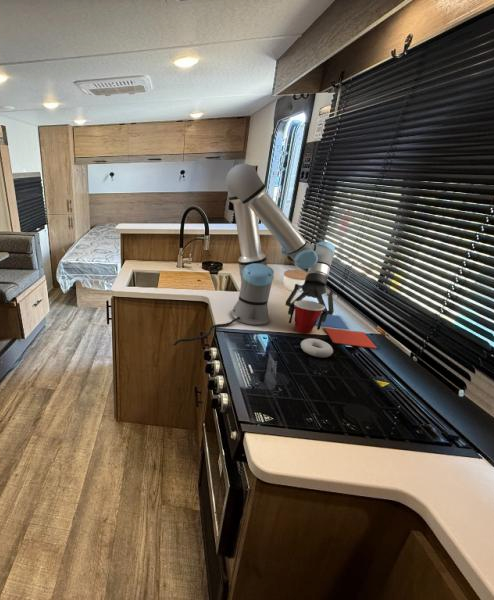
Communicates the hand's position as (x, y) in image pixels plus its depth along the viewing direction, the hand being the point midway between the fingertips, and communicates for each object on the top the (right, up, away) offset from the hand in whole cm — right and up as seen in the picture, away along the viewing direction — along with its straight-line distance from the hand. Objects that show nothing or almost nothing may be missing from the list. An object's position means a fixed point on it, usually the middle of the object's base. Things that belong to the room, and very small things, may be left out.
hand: (303, 325), depth 122 cm
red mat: (+16, -5, -2) cm, 17 cm away
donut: (-2, -9, -10) cm, 14 cm away
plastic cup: (+2, -3, +4) cm, 5 cm away
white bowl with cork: (+23, +16, +45) cm, 53 cm away
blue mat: (+16, +1, +12) cm, 20 cm away
